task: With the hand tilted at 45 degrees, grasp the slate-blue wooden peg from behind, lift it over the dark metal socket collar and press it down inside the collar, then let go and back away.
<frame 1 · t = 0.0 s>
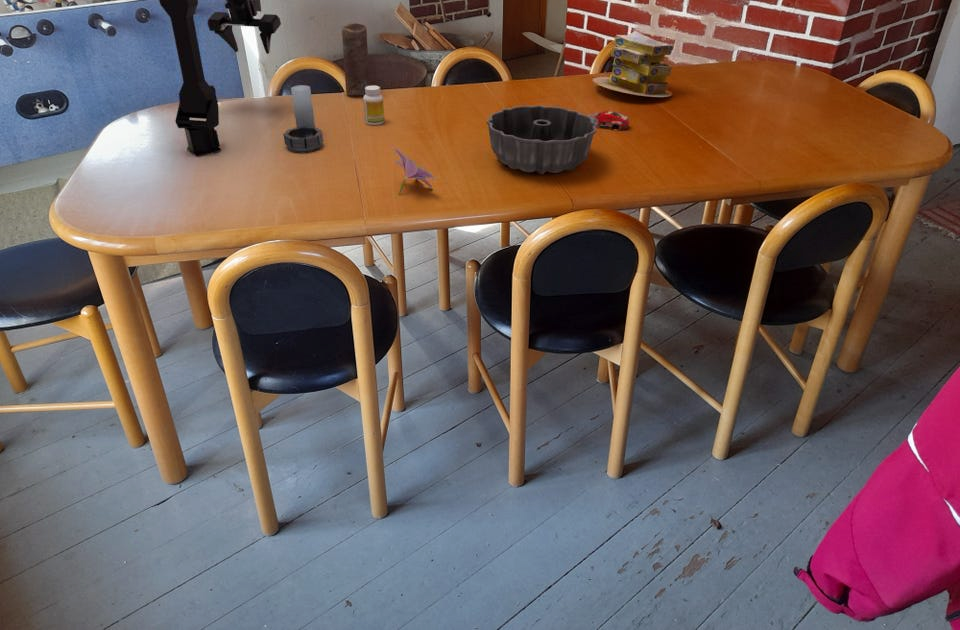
hand: (252, 52, 194), 15 cm above the table, tool pointing down, fingers open, 9 cm apart
lily: (413, 190, 157), on the table
race car: (604, 127, 194), on the table
stacked boxes on plate: (631, 93, 219), on the table
bundt pan: (539, 162, 172), on the table
socket collar: (304, 146, 178), on the table
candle: (359, 95, 214), on the table
supplement bottle: (374, 123, 194), on the table
peg: (306, 133, 186), on the table
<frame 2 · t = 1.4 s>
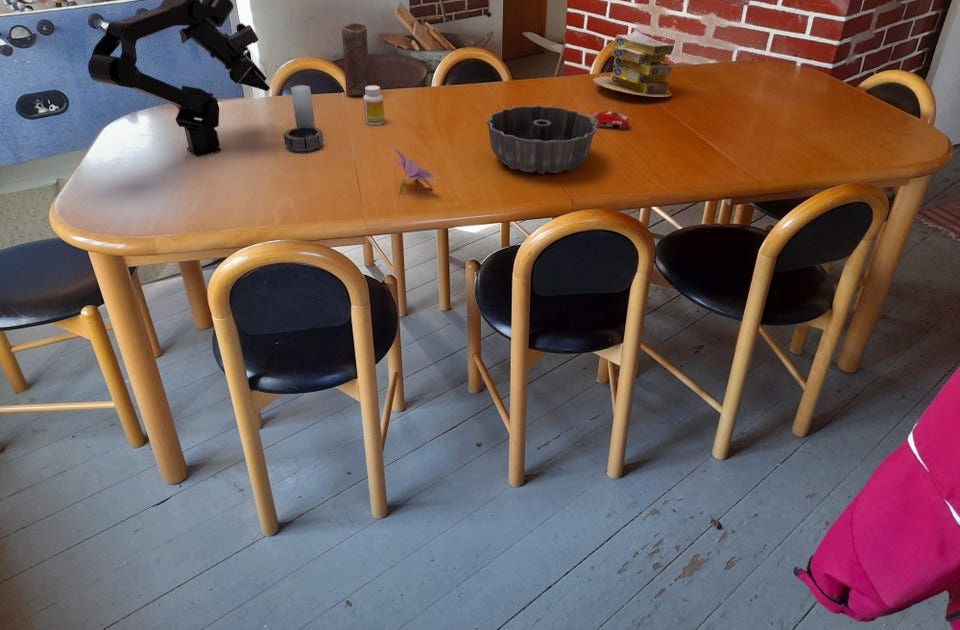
hand: (267, 84, 176), 13 cm above the table, tool tilted 45°, fingers open, 9 cm apart
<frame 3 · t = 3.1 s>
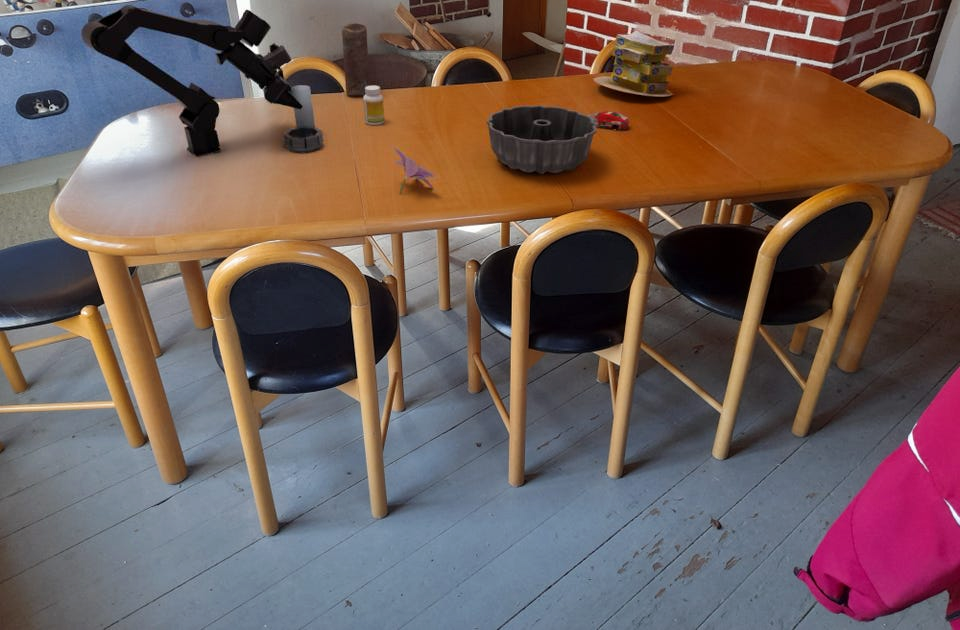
hand: (299, 102, 181), 8 cm above the table, tool tilted 45°, fingers open, 9 cm apart
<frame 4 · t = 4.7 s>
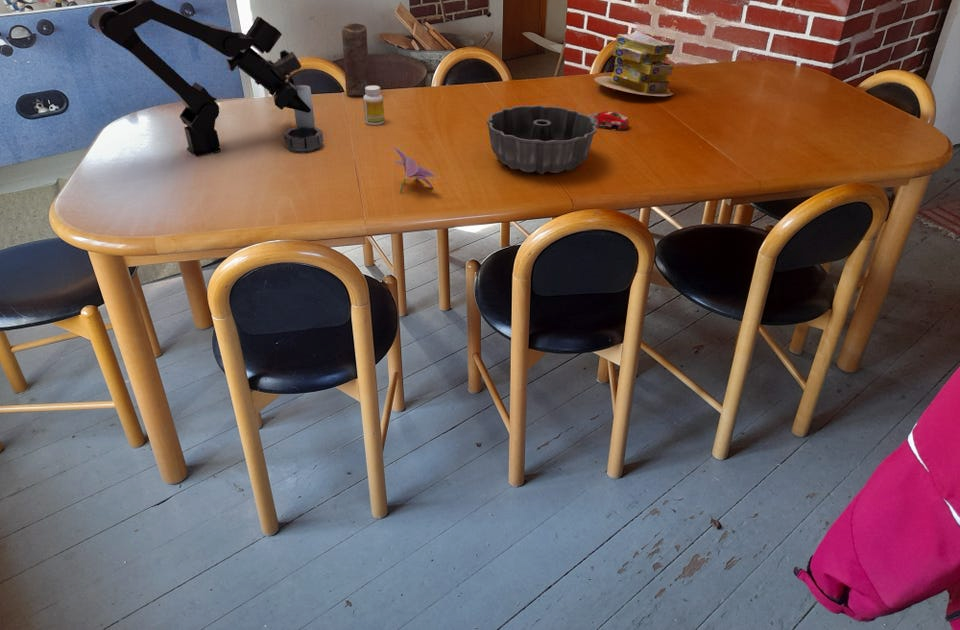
hand: (308, 108, 182), 7 cm above the table, tool tilted 45°, fingers closed on peg, 5 cm apart
peg: (306, 133, 186), on the table, touching gripper
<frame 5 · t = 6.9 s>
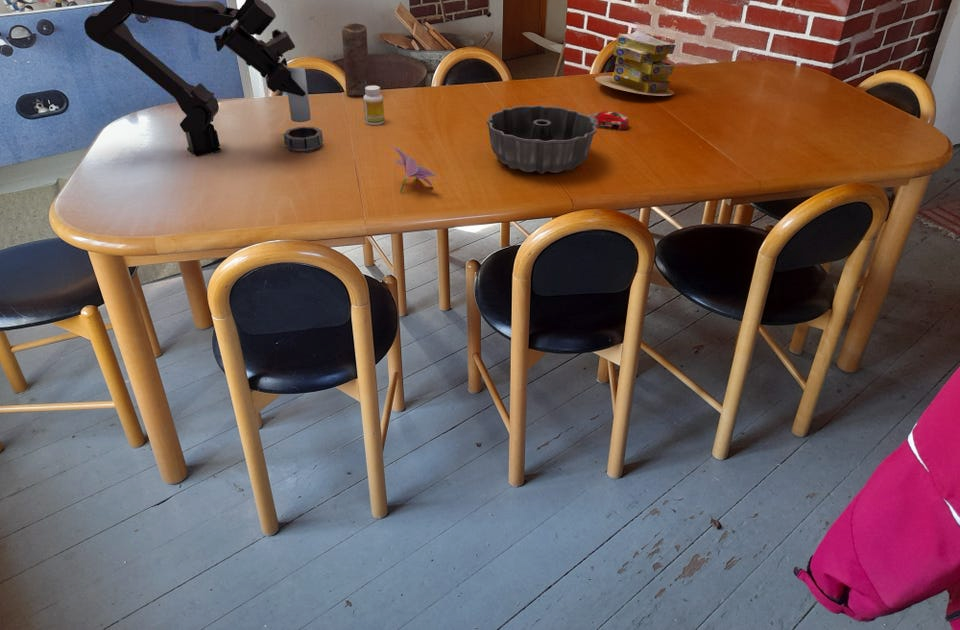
hand: (303, 92, 171), 14 cm above the table, tool tilted 45°, fingers closed on peg, 5 cm apart
peg: (301, 119, 175), point 7 cm above the table, touching gripper
when the fingers open (8 cm above the table, at t = 9.2 s): peg stays where it is, resting on socket collar.
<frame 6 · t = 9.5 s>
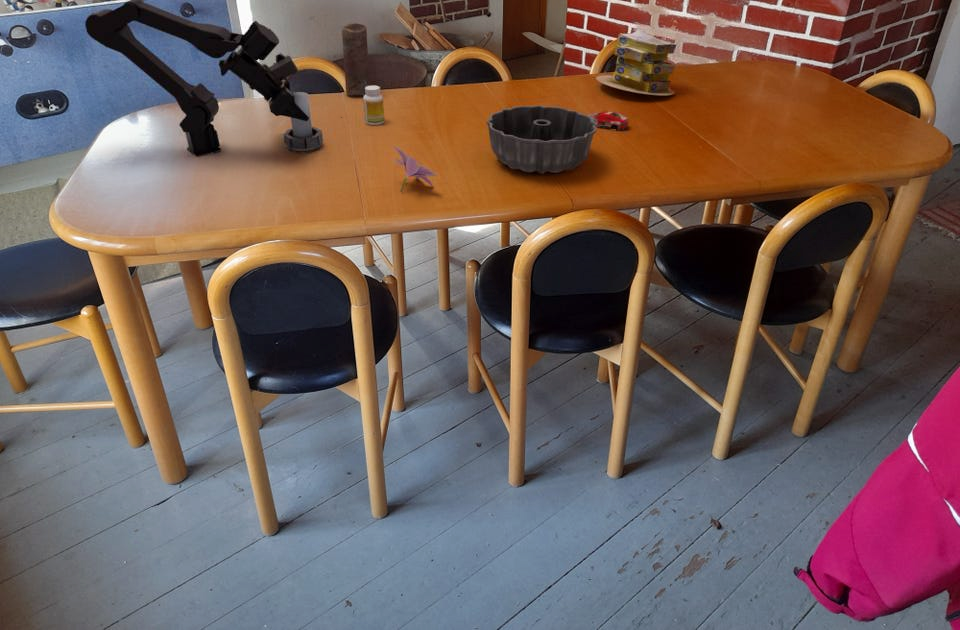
hand: (306, 114, 174), 8 cm above the table, tool tilted 45°, fingers open, 8 cm apart
peg: (303, 142, 177), point 1 cm above the table, touching socket collar
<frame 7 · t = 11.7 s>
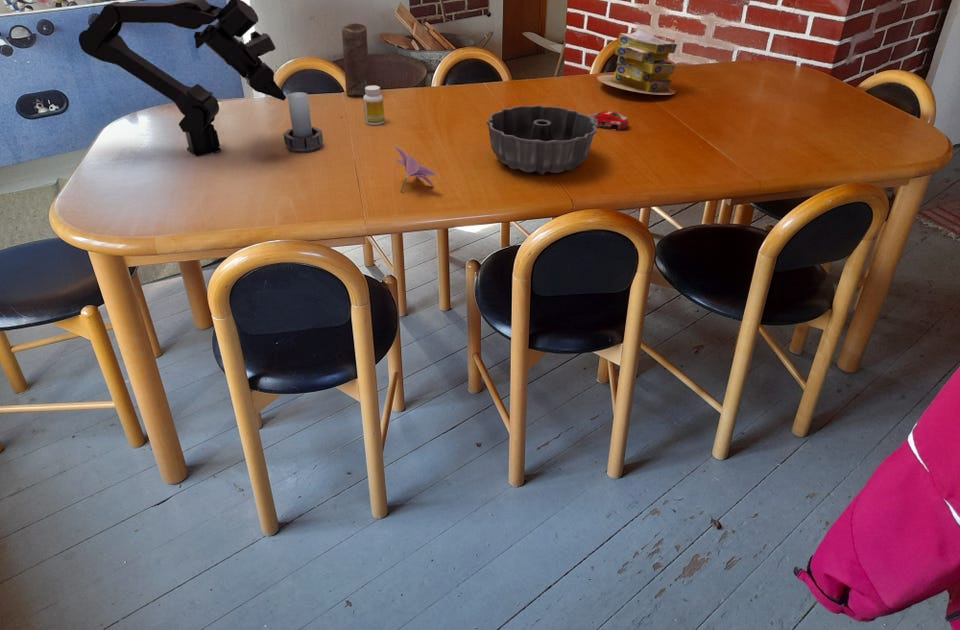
hand: (280, 94, 171), 13 cm above the table, tool tilted 40°, fingers open, 9 cm apart
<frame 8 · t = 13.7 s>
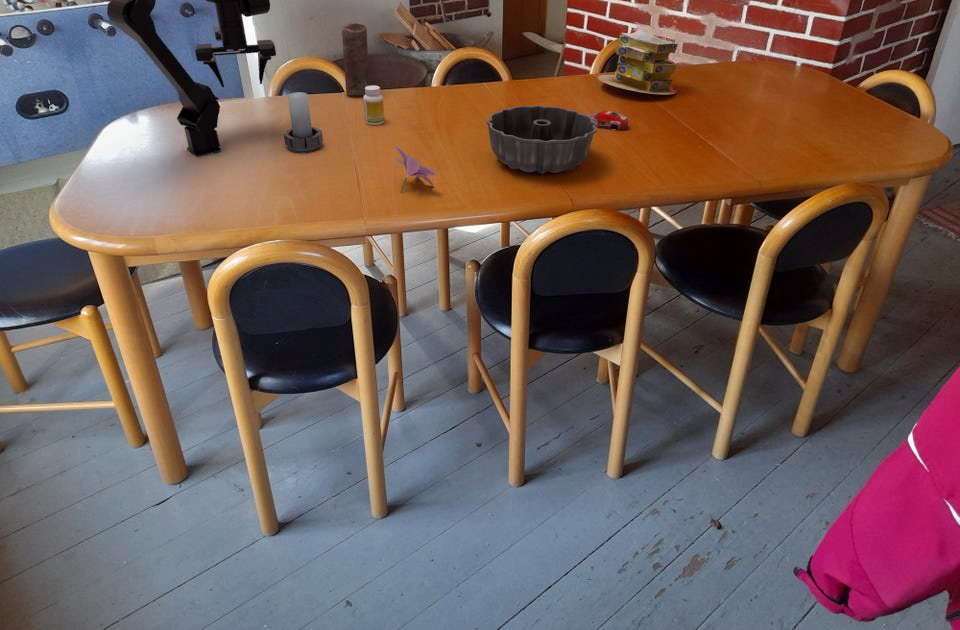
hand: (242, 85, 177), 13 cm above the table, tool pointing down, fingers open, 9 cm apart
at the end: peg 0.0 cm off-centre on the socket collar, point 1.0 cm above the socket collar's base; peg tilted 0°; the gripper is holding nothing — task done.
